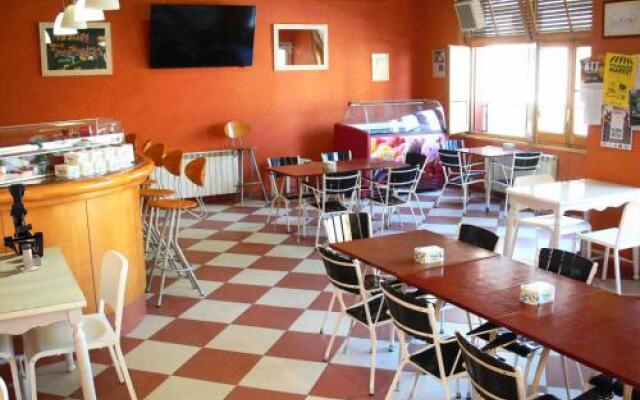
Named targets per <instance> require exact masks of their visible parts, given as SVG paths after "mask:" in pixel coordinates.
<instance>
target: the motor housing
mask: <svg viewBox="0 0 640 400" xmlns="http://www.w3.org/2000/svg"><path fill="white" fill-rule="evenodd" d="M21 259H22V263H23V266H24V258H23V256H22V258H21ZM32 261H33V266H36V267H38V266H42V257H40V256H39V255H38V254H37V255H32Z"/></svg>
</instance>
